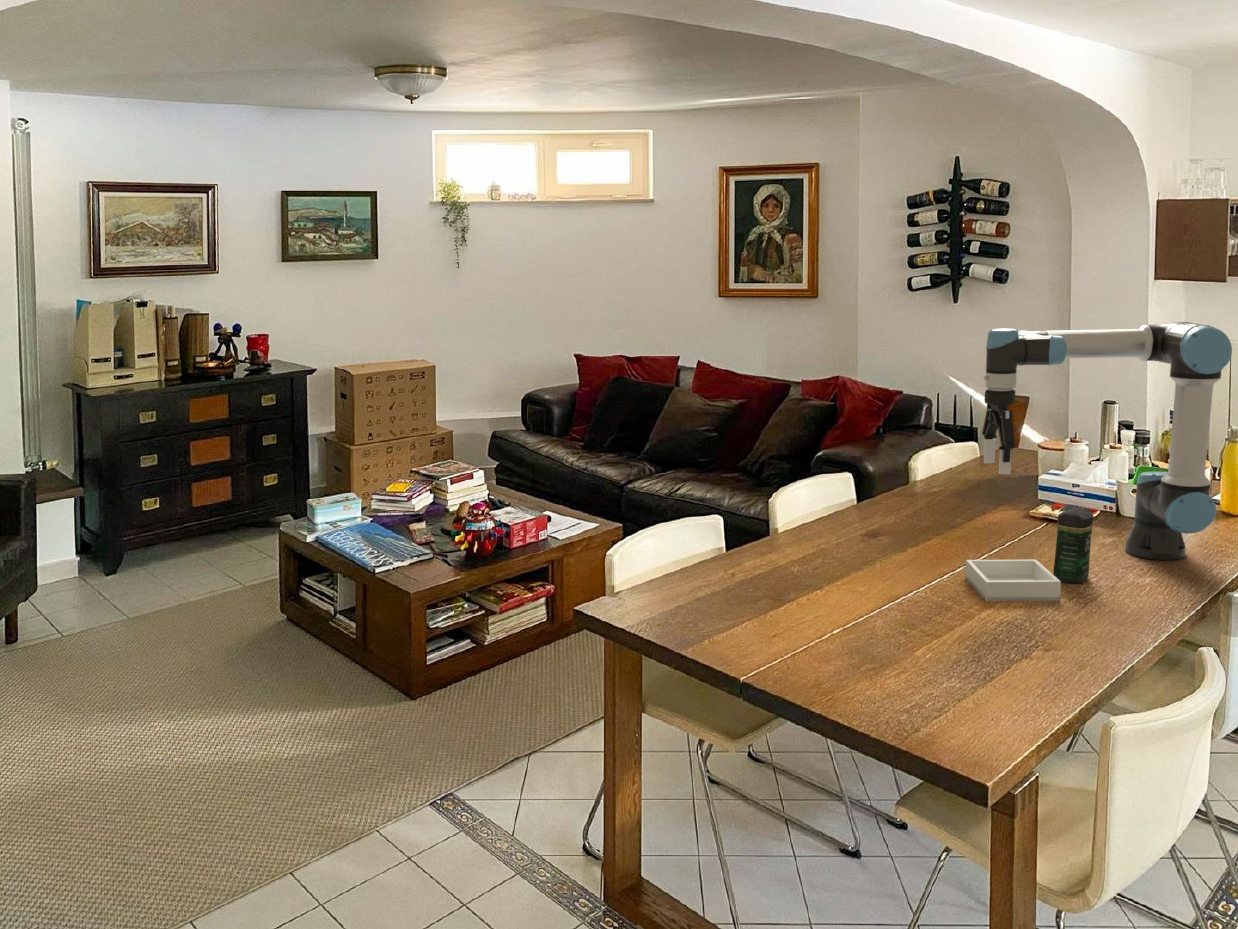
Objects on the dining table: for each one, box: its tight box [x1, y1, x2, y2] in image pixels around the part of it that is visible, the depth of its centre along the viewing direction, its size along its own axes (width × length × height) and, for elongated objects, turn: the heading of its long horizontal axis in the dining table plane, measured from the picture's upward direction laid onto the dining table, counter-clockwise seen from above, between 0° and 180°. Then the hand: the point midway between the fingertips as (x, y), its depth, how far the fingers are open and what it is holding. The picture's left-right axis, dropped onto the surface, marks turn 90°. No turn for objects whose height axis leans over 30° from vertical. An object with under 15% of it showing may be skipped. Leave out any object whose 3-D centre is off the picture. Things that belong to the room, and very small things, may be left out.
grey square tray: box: [964, 559, 1062, 602], centre depth 272 cm, size 18×18×5 cm
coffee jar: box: [1052, 507, 1094, 584], centre depth 277 cm, size 10×8×19 cm
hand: (996, 468), depth 283 cm, fingers open, 13 cm apart
